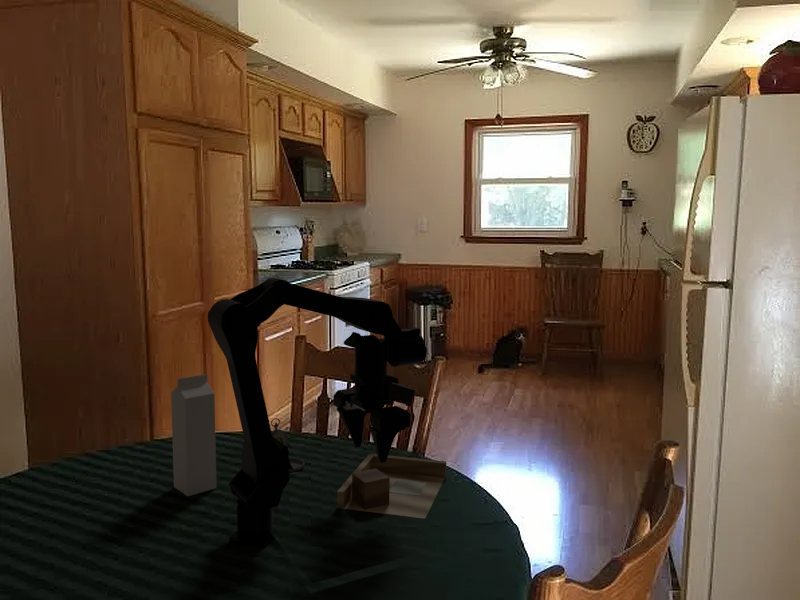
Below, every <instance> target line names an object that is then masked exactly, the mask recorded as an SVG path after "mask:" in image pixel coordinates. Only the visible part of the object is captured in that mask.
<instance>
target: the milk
mask: <svg viewBox="0 0 800 600" xmlns="http://www.w3.org/2000/svg"><path fill="white" fill-rule="evenodd" d="M176 381H177V382H176V383H177V387H175V388H174V389H173V390H172V391H171V393H170V395H171V396H170V397H171V398H170V399H171V401H170V402H171V428H172V430H171V431H172V433H171V434H172V437H171V438H172V462H173V463H172V465H173V467H172V469H173V487H174V488H175V489H176V490H178V491H179V492H180V493H182V494H184V495H185V496H186V497H190V496H194V495H197V494H201V493H205V492H208V491H211V490H215V489H217V456H216V455H217V454H216V453H217V450H216V449H217V448H216V447H217V445H216V409H215V408H216V406H215V405H216V401H215V392H214V389H212V387H211V386H210V384H209V382H208V375H207V374H205V373H204V374H200V375H199V374H198V375H193V376H185V377H180V378H177V380H176Z"/></svg>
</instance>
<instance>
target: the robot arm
mask: <svg viewBox="0 0 800 600" xmlns="http://www.w3.org/2000/svg"><path fill="white" fill-rule="evenodd" d="M284 305H286V306H290V307H294V308H297V309H301V310H306V311H309V312H314V313H316V314H322V315H326V316H330V317H333V318H335V319H338V320H340V321H341V322H343V323H345V324H348V325H349V326H351V327H354V328H355V329H357V330H361V331H365V332H368V333H370V334H367V335H361V334H360V333H359V332H355V331H353V332H351V334H350V335H349V336H348V337H347V338H346V339H345V340H344V341H343V345H344V346H347V347H349V348H353V349H354V373H350V374H349V375H350V376H349V378H350V381H352V382H354V387H350V388H344V389H337V390H336V392H335V393H334V394H333V396H332V397H333V399H332V400H333V401H332V403H333V404H332V405H333V406H335V407H336V411H337V412H338V413H339V415H340V418H341V420H342V422H343V423H344V427H346V428H345V429H346V430H347V432H348V435H349V436H350V439H351V441H352V443H353V446H354V447H355V448H360V447H361V446H362V442H363V435H364V434H363V433H364V424H365V417H366V416H367V414H370V415H369V416H370V417H369V423H370V424H371V426H370V427H369V431H370V434H371V437H372V442H373V445H374V448H375V452H376V453H375V454H377V456H378V459H379V462H380V463H384V462H386V460H387V457H388V455H389V454H390V451H391V449H392V446H393V443H394V440H395V439H396V437H397V435H398V434H399V433H400V432H401V431H405V430H406V429H407V428H410V427H412V414H410V412H409V411H408V410H407V409H404V408H402V407H400V406H398V405H395V402H396V403H398V404H399V403H400V404H403V405H405V406H407V407H410V408H411V407H412V404H413V400H414V398H415V395H416V392H417V391H416V389H414V388H411V387H408V386H407V385H404V384H402V383H399V378H398V377H396V376H393V375H390V374H388V364H389V365H390V366H391V367H393V368H394V367H395V368H396V367H403V366H411V365H418V364H422V363H424V361H425V360H426V358H427V355H428V348H427V346H426V342H425V339H424V338H423V336H422V335H421V329H420V328H419V327H415V326H409V327H406V328H402V329H401V327H400V326H399V324H398V322H397V321H396V319H395V318H394V316H393V315H394V314H393V310H392V309H391V307H392V306H391V305H390V304H389V303H387V302H385V301H380V300H377V299H373V298H367V297H357V296H339V295H336V294H332V293H328V292H323V291H322V290H321V291H320V290H316V289H312V288H309V287H306V286H303V285H298V284H295V283H291V282H290V281H288V280H287V279H282V278H277V277H270V278H267V279H266V280H264V281H262V282H260V283H259V284H258V285H256V286H254V287H251V288H249V289H247V290H244V291H242V292H240V293H238V294H236V295H235V296H233V297H231V298H225V299H220V300H218V301H216V302H215V303H213V305H212V306H211V307H210V309H209V310H208V312H207V323H208V326H209V327H210V330H211V332H212V335H213V337H214V339H215V341H216V343H217V345H218V347H219V348H220V350H221V351H222V354H223V356H224V357H225V359H226V363H227V368H228V372H229V376H230V377H229V378H230V381H231V386H232V390H233V393H234V399H235V403H236V408H237V411H238V412H237V413H238V416H239V420H240V424H241V425H240V426H241V430H242V434H243V438H244V439H243V445H242V451H241V468H240V469H239V471H238V472H237V473H236V475H234V476H233V478H232V479H231V480H230V481H229V483H228V488H229V489H230V491H231V495H233V496H235V498H237V500H236V527H237V529H236V531H235V532H234V533H233V534H231V536H229V537H228V542H229V543H234V544H241V545H249V546H256V547H261V548H263V547H266V546H267V545H268V544H269V543H270V542H271V541H272V540H273V539H274V538H275V536H274V535H273V534H272V532H273V529H274V527H273V526H274V522H273V520H274V519H273V517H274V516H273V515H274V513H273V512H274V511H273V509H274V508H277V507H278V506H279V504H280V501H281V498H282V494H283V491H284V489H285V488H286V486H287V485H288V483H290V480H291V472H290V471H289V469H290V470H292V469H293V467H292V466H291V464H290V462H289V458H290V454H289V453H290V452H289V448H288V446H286V445H285V444H283V443H282V442H280V439H279V440H278V439H276V438H275V437H273V436H272V432H271V431H272V428H271V422H270V420H269V414H268V409H267V405H266V400H265V395H264V392H263V390H264V389H263V387H262V381H261V377H260V371H259V368H258V364H257V359H256V351H257V347H258V341H259V325H262V324H263V323H265V322H266V321H268V320H269V318H271V317H272V316H273V315H274V314H275V312H277V310H278V309H280V308H281V307H282V306H284ZM371 333H372V334H371ZM376 335H379V336H383V337H382V338H378V337H377V336H376ZM385 406H387V407H385Z"/></svg>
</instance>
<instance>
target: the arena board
mask: <svg viewBox="0 0 800 600" xmlns="http://www.w3.org/2000/svg"><path fill="white" fill-rule="evenodd" d="M371 469H378V470H379V471H381V472H382V473H384V474H385V475H387V476H388V477H390V489H389V504H387V505H383V506H379V507H375V508H370V509H366V510H364V509H363V508H362V507H361V506H359V505H358V504H357V503H356V502H355V501H353V500H352V474H350V476H349V477H348V478H347V480H345V481H344V483H343V484H342V485H341V487H339V489H338V490H337V491H336V492H337V493H336V494H337V495H336V500H337V501H336V508H337V509H345V510H352V511H361V512H368V513H376V514H384V515H390V516H391V515H392V516H400V517H408V518H417V519H423V520H425V519H426V518H427V516H428V513H429V511H430V510H431V508H432V505H433V503H434V502H435V499H436V498H437V496H438V493H439V491H440V490H441V487H442V485H443V483H444V481H445V479H446V476H447V461H445V460H437V459H428V458H426V459H425V458H419V457H418V458H416V457H410V456H409V457H407V456H397V455H396V456H395V455H389V454H388V457H387V460H386V462H384V463H380V462H379V459H378V456H377V453H369V454H368V455H367V456H366V458H364V459H363V461H361V463H360V464H359V465H358V466H357V468H356V469H355V470H354V471H353V472H352V473H356V472H361V471H366V470H371Z"/></svg>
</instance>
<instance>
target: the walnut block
mask: <svg viewBox="0 0 800 600" xmlns="http://www.w3.org/2000/svg"><path fill="white" fill-rule="evenodd" d="M351 475H352V500H353V501H355V502H356V503H357V504H358V505H359V506H361V507H362V508H363V509H364V510H366V509H370V508H375V507H379V506H383V505H387V504H389V489H390V477H388V476H387V475H385V474H384V473H382V472H381V471H379V470H378V469H371V470H366V471H361V472H356V473H353V472H352V473H351Z"/></svg>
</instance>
